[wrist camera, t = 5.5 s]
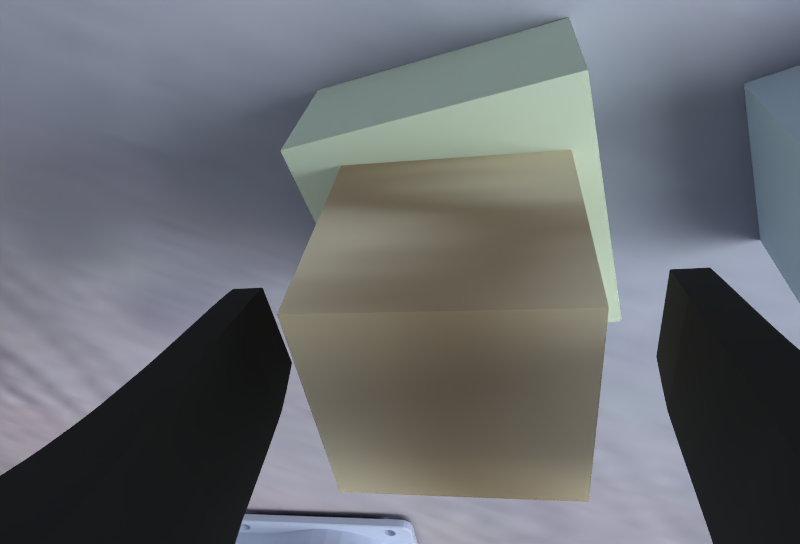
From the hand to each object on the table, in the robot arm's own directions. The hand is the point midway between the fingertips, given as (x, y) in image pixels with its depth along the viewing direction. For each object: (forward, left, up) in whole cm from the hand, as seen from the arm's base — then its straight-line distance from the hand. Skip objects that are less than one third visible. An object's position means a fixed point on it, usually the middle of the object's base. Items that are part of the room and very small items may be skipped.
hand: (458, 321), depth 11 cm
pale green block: (0, 0, -6) cm, 6 cm away
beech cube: (0, 0, -2) cm, 3 cm away
